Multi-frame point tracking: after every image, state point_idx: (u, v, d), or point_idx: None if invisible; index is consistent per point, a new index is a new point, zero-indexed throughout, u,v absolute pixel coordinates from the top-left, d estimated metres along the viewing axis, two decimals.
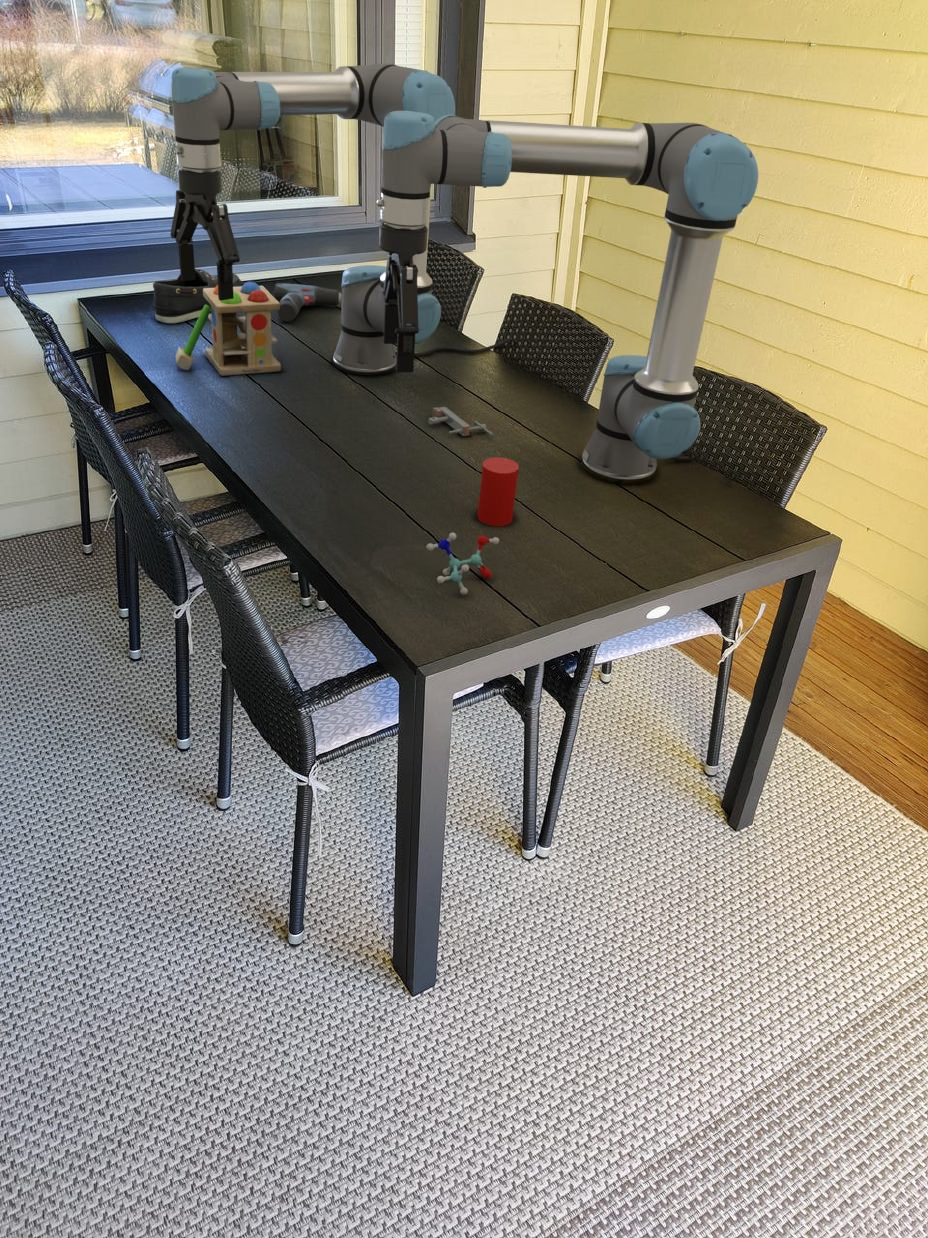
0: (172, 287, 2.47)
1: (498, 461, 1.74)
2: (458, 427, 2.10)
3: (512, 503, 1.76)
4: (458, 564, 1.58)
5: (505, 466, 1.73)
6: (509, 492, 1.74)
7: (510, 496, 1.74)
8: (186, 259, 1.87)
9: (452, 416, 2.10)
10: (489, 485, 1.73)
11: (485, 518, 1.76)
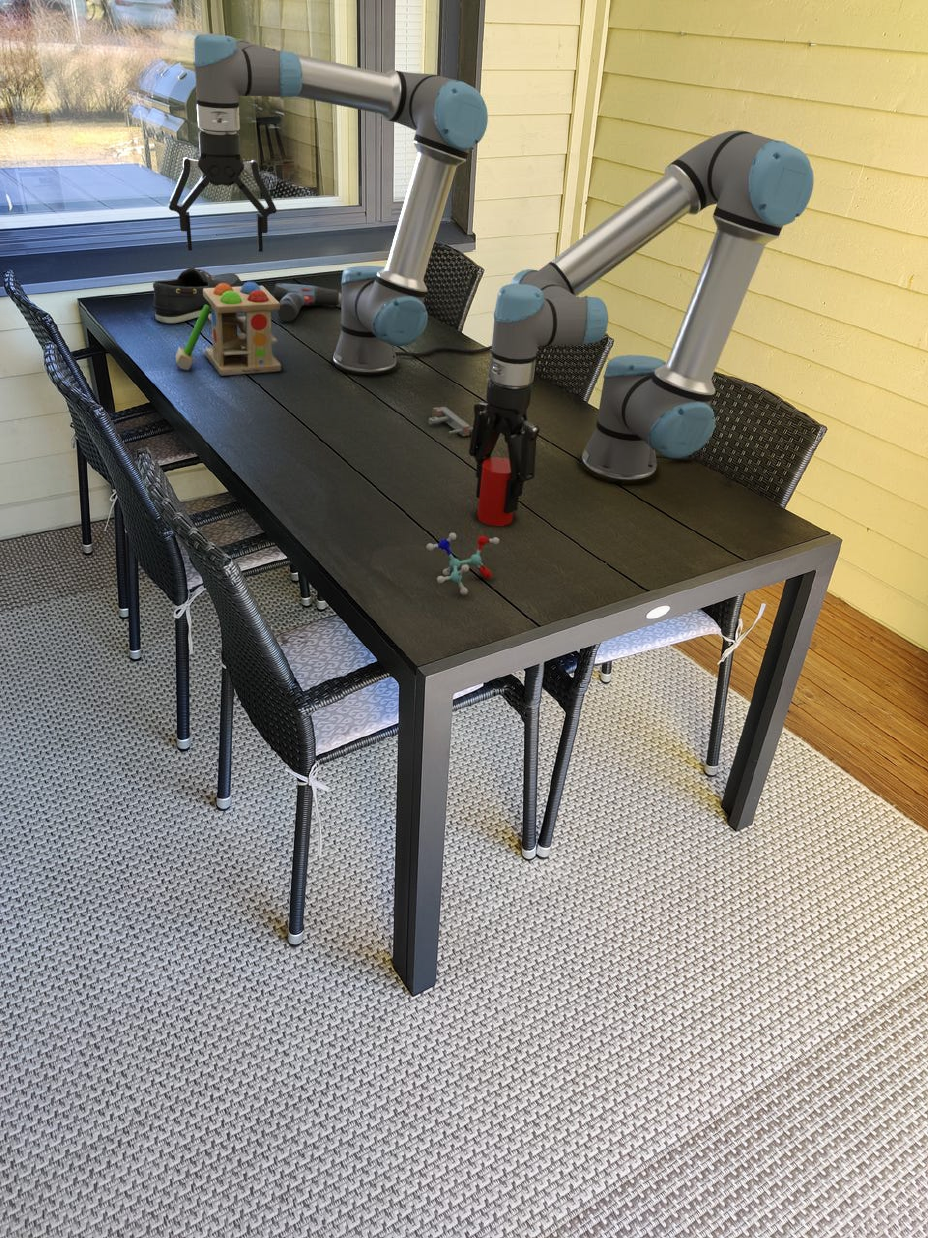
0: (172, 287, 2.47)
1: (498, 461, 1.74)
2: (458, 427, 2.10)
3: None
4: (458, 564, 1.58)
5: (505, 466, 1.73)
6: None
7: None
8: None
9: (452, 416, 2.10)
10: (489, 485, 1.73)
11: (485, 518, 1.76)
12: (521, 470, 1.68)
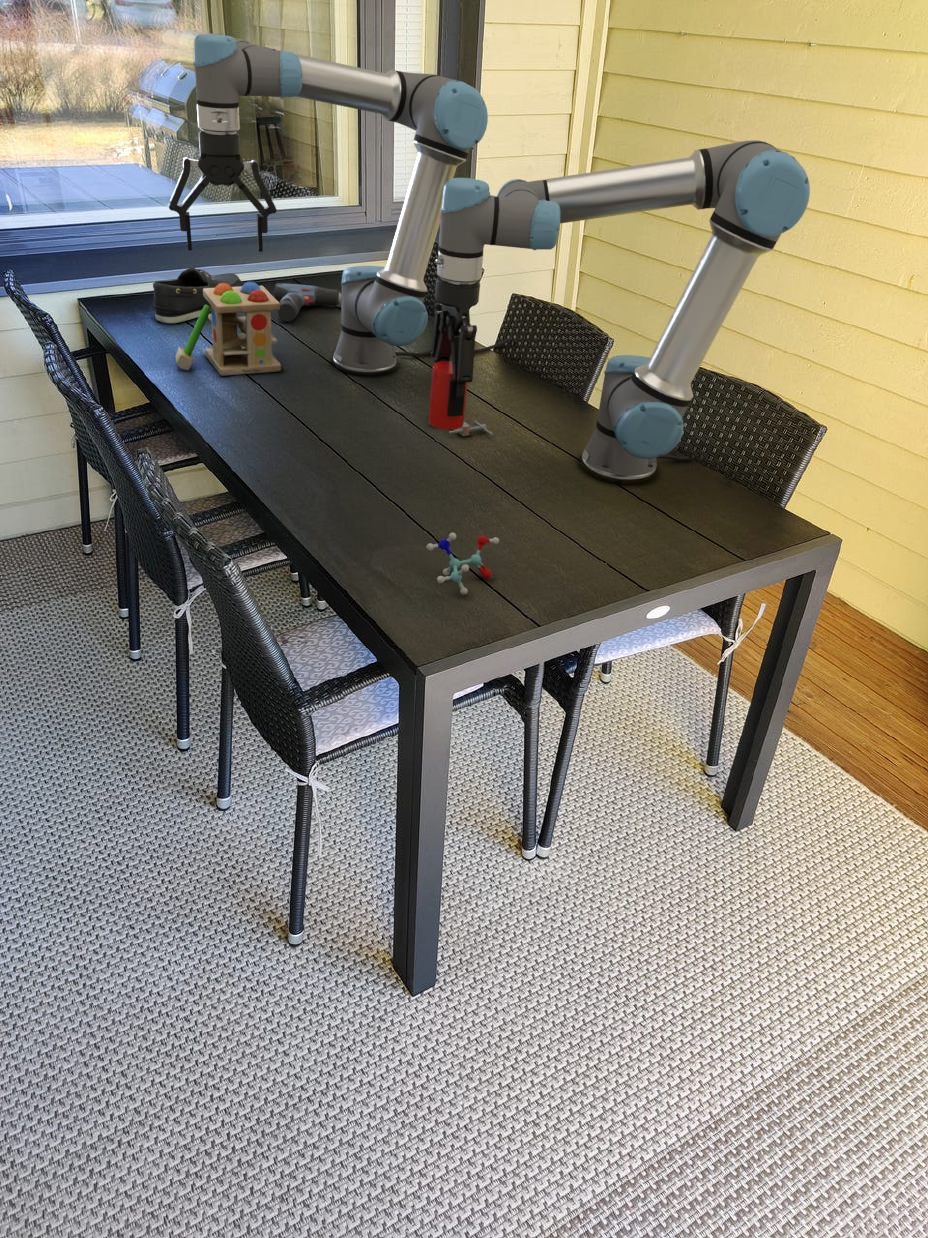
0: (172, 287, 2.47)
1: (451, 364, 1.75)
2: None
3: None
4: (458, 564, 1.58)
5: None
6: None
7: None
8: None
9: None
10: (434, 384, 1.74)
11: (432, 420, 1.78)
12: (458, 370, 1.69)
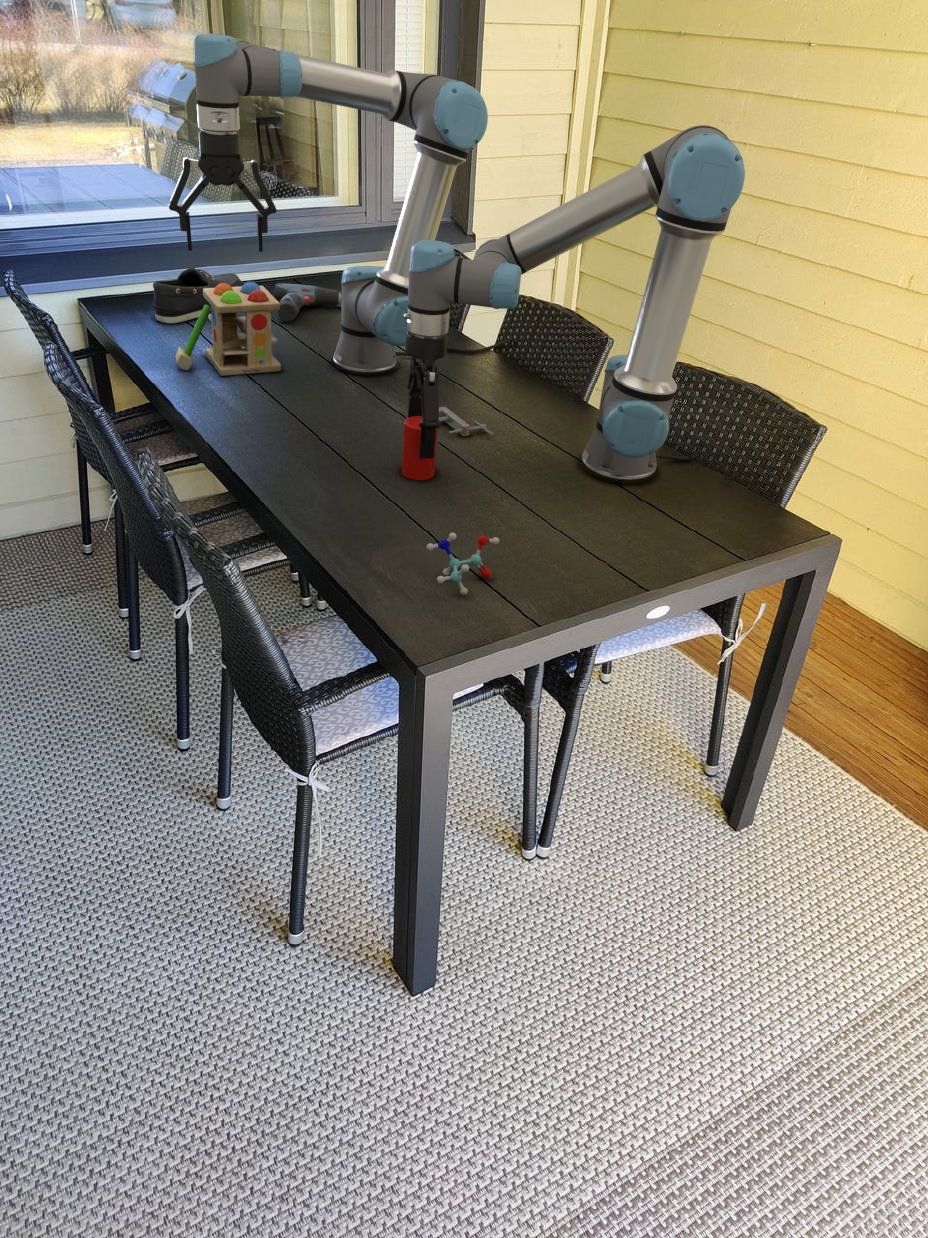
0: (172, 287, 2.47)
1: None
2: (458, 427, 2.10)
3: (426, 461, 1.87)
4: (458, 564, 1.58)
5: None
6: None
7: None
8: None
9: (452, 416, 2.10)
10: (404, 437, 1.86)
11: (403, 469, 1.90)
12: (424, 416, 1.76)
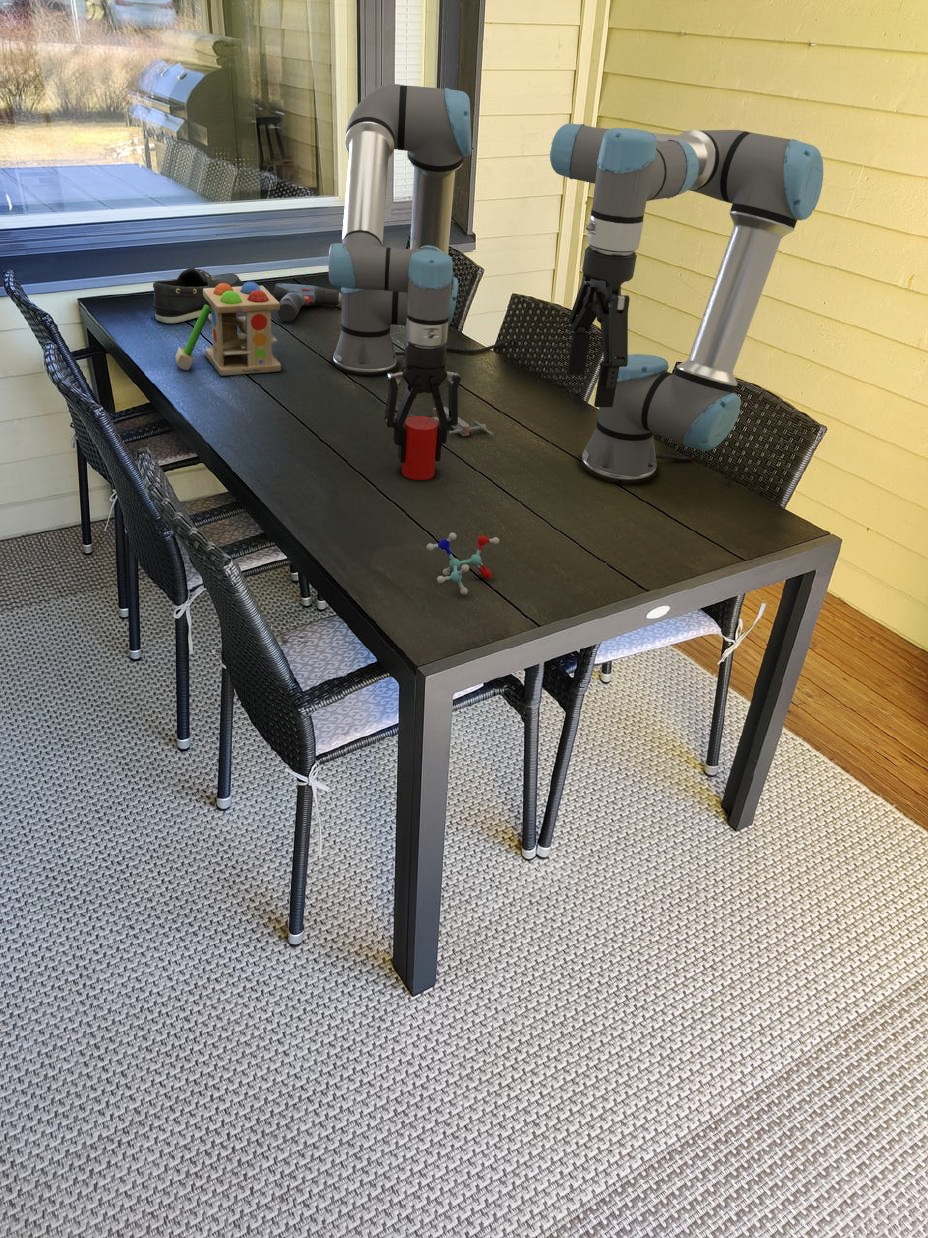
0: (172, 287, 2.47)
1: (423, 419, 1.87)
2: (458, 427, 2.10)
3: (426, 461, 1.87)
4: (458, 564, 1.58)
5: (423, 424, 1.85)
6: (420, 448, 1.86)
7: (422, 453, 1.86)
8: None
9: None
10: None
11: (403, 469, 1.90)
12: (609, 352, 1.41)
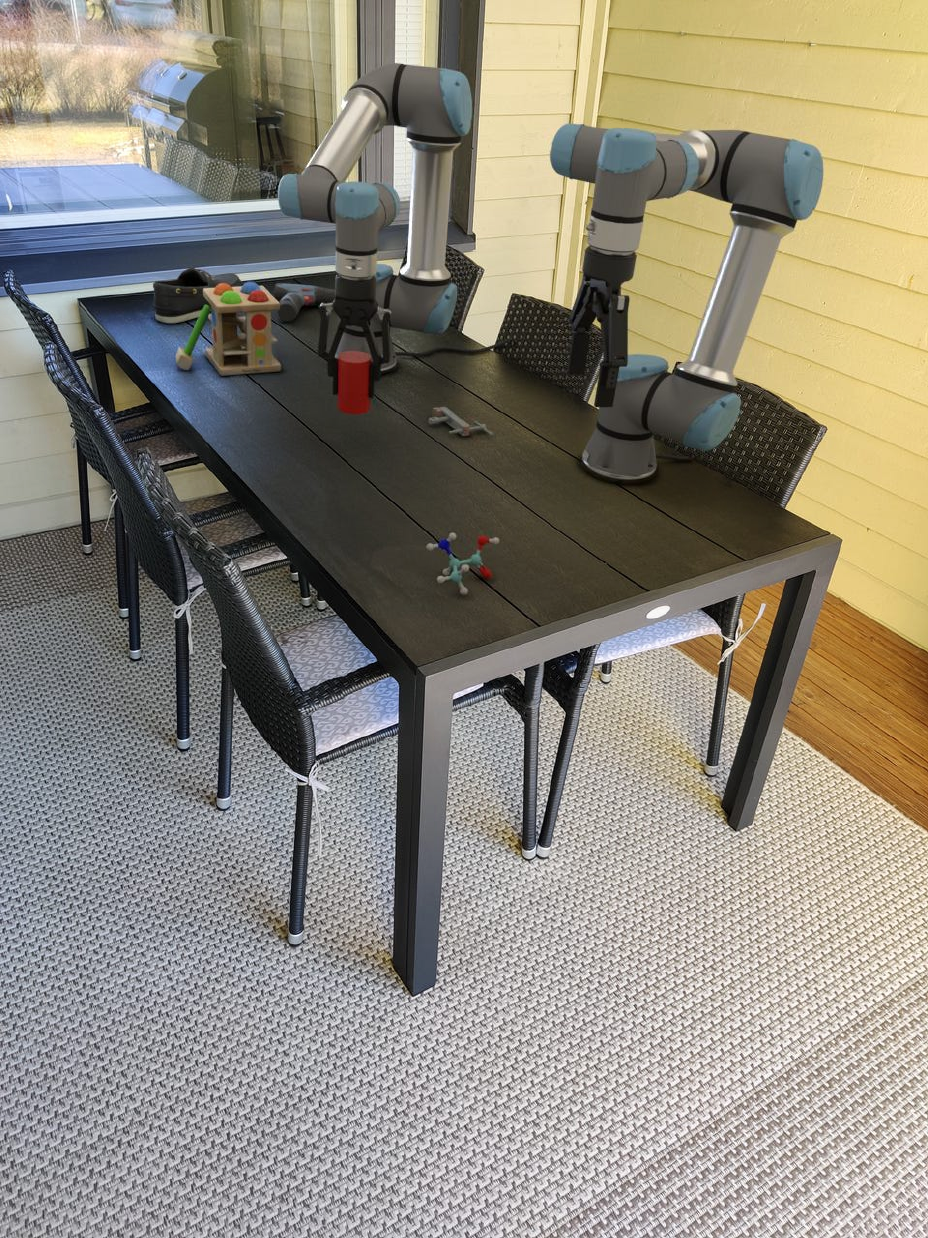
0: (172, 287, 2.47)
1: (359, 354, 1.90)
2: (458, 427, 2.10)
3: (355, 395, 1.90)
4: (458, 564, 1.58)
5: (355, 358, 1.88)
6: (348, 382, 1.88)
7: (350, 386, 1.89)
8: (337, 373, 1.90)
9: (452, 416, 2.10)
10: None
11: None
12: (609, 352, 1.41)
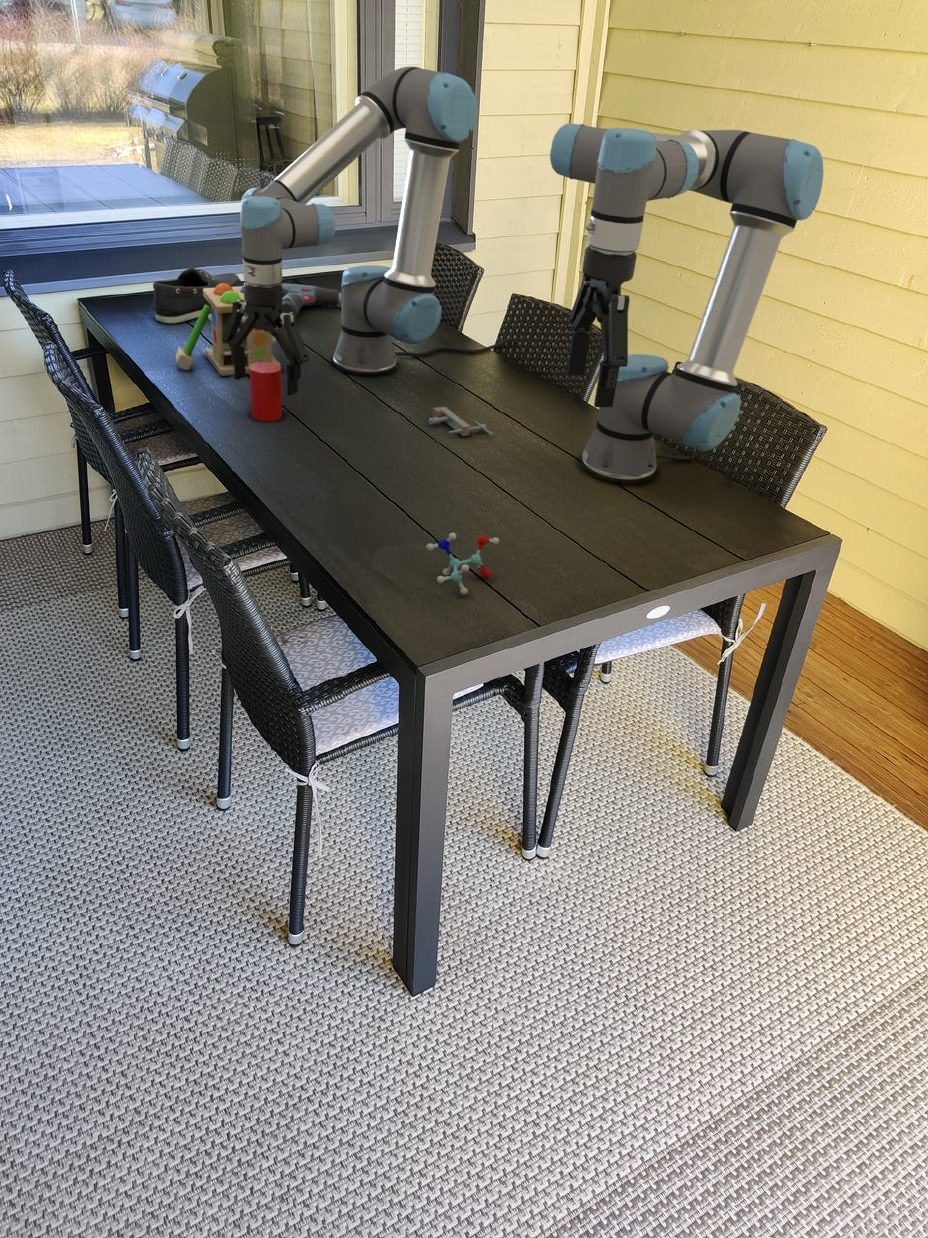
0: (172, 287, 2.47)
1: (272, 366, 2.03)
2: (458, 427, 2.10)
3: (260, 402, 2.04)
4: (458, 564, 1.58)
5: (263, 368, 2.02)
6: (254, 389, 2.03)
7: (255, 393, 2.03)
8: (240, 360, 2.05)
9: (452, 416, 2.10)
10: None
11: None
12: (609, 352, 1.41)
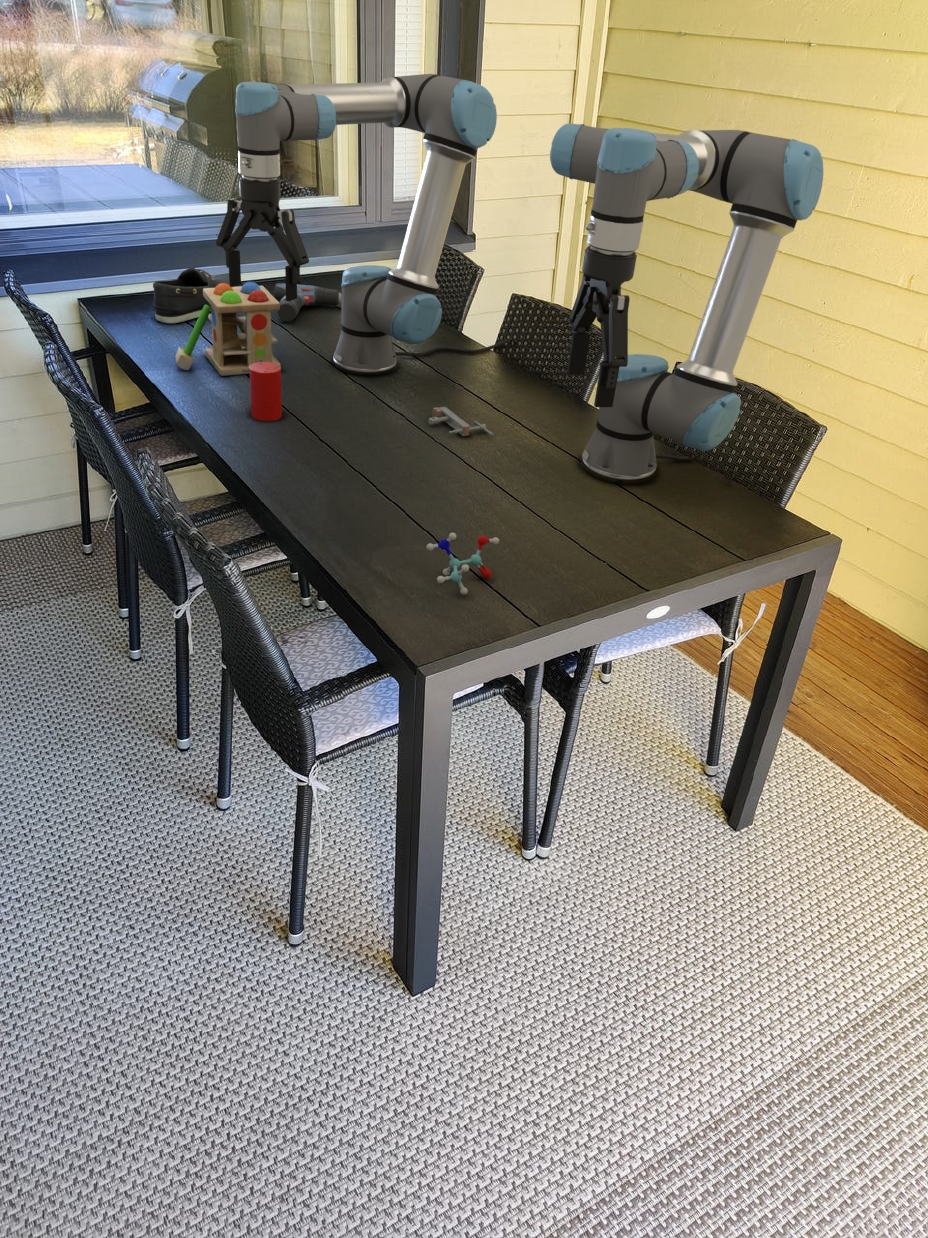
0: (172, 287, 2.47)
1: (272, 366, 2.03)
2: (458, 427, 2.10)
3: (260, 402, 2.04)
4: (458, 564, 1.58)
5: (263, 368, 2.02)
6: (254, 389, 2.03)
7: (255, 393, 2.03)
8: (235, 265, 1.94)
9: (452, 416, 2.10)
10: None
11: None
12: (609, 352, 1.41)
